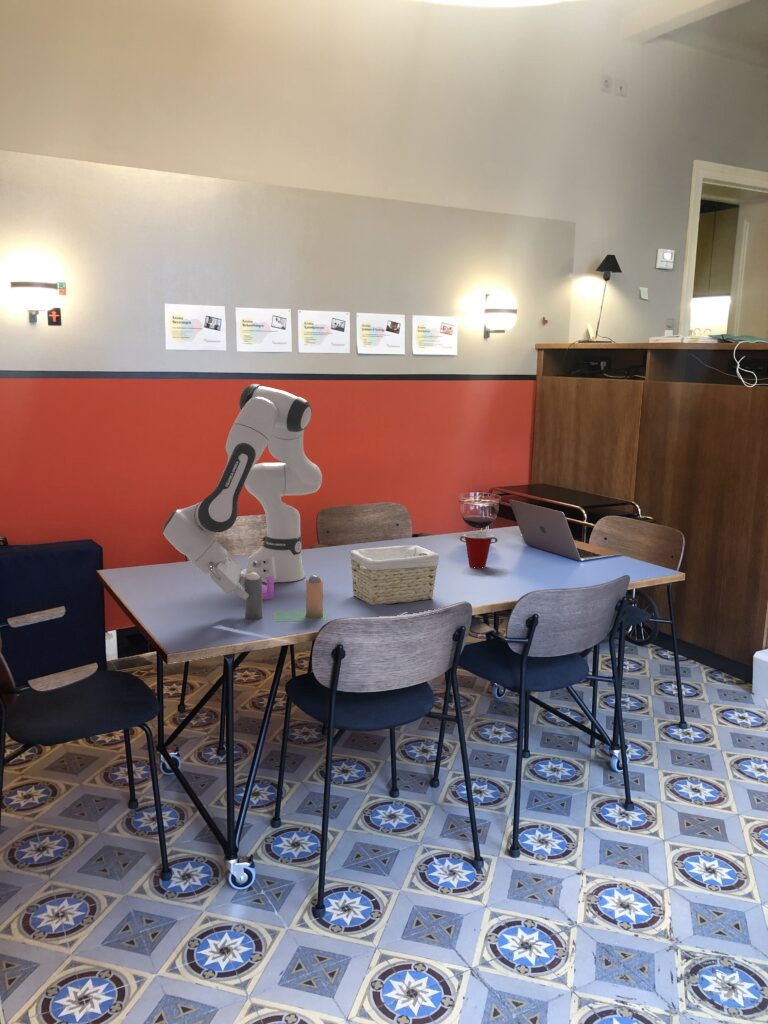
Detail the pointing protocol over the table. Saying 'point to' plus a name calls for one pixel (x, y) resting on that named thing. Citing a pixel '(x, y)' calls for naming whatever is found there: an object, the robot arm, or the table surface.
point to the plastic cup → (477, 548)
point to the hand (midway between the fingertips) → (248, 592)
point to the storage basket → (393, 574)
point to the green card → (296, 616)
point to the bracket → (268, 588)
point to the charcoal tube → (253, 596)
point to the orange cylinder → (314, 597)
